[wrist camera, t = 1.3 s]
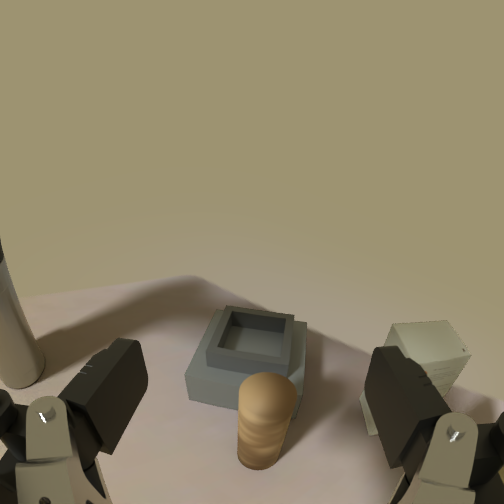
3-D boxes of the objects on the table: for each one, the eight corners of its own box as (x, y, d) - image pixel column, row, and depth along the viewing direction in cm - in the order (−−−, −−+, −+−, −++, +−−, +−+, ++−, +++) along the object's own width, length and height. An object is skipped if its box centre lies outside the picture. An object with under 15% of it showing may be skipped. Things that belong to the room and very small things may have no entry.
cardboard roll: (233, 466, 23) (232, 410, 18) (241, 434, 27) (245, 368, 22) (275, 472, 22) (294, 419, 17) (281, 440, 26) (299, 375, 21)
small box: (408, 391, 31) (448, 318, 26) (421, 426, 25) (473, 354, 20) (357, 398, 31) (391, 321, 26) (367, 437, 25) (414, 365, 20)
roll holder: (189, 399, 31) (181, 359, 27) (217, 335, 42) (216, 295, 39) (295, 418, 29) (306, 381, 26) (301, 347, 40) (309, 307, 37)
